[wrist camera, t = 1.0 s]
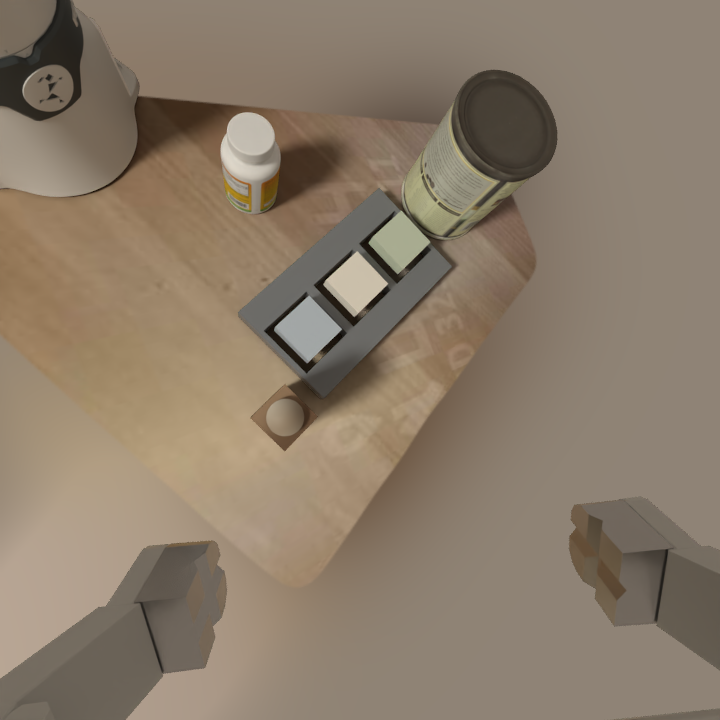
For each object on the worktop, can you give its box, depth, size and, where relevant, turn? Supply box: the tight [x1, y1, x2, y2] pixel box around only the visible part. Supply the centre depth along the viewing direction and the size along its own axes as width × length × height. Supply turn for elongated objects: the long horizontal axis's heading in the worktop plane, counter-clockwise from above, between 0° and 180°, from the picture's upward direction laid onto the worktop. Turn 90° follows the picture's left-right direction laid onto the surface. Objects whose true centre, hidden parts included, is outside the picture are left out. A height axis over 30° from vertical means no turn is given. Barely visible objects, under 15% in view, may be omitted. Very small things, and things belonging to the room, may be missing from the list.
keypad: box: [238, 188, 452, 399], centre depth 45 cm, size 12×21×2 cm, turn 136°
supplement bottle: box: [221, 112, 281, 214], centre depth 40 cm, size 5×5×10 cm
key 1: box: [274, 296, 342, 363], centre depth 41 cm, size 5×5×2 cm
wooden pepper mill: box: [251, 385, 318, 451], centre depth 37 cm, size 4×4×12 cm
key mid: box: [323, 251, 388, 317], centre depth 43 cm, size 5×5×2 cm
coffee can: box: [401, 70, 557, 240], centre depth 44 cm, size 10×10×14 cm
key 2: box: [369, 211, 430, 274], centre depth 45 cm, size 5×5×2 cm
